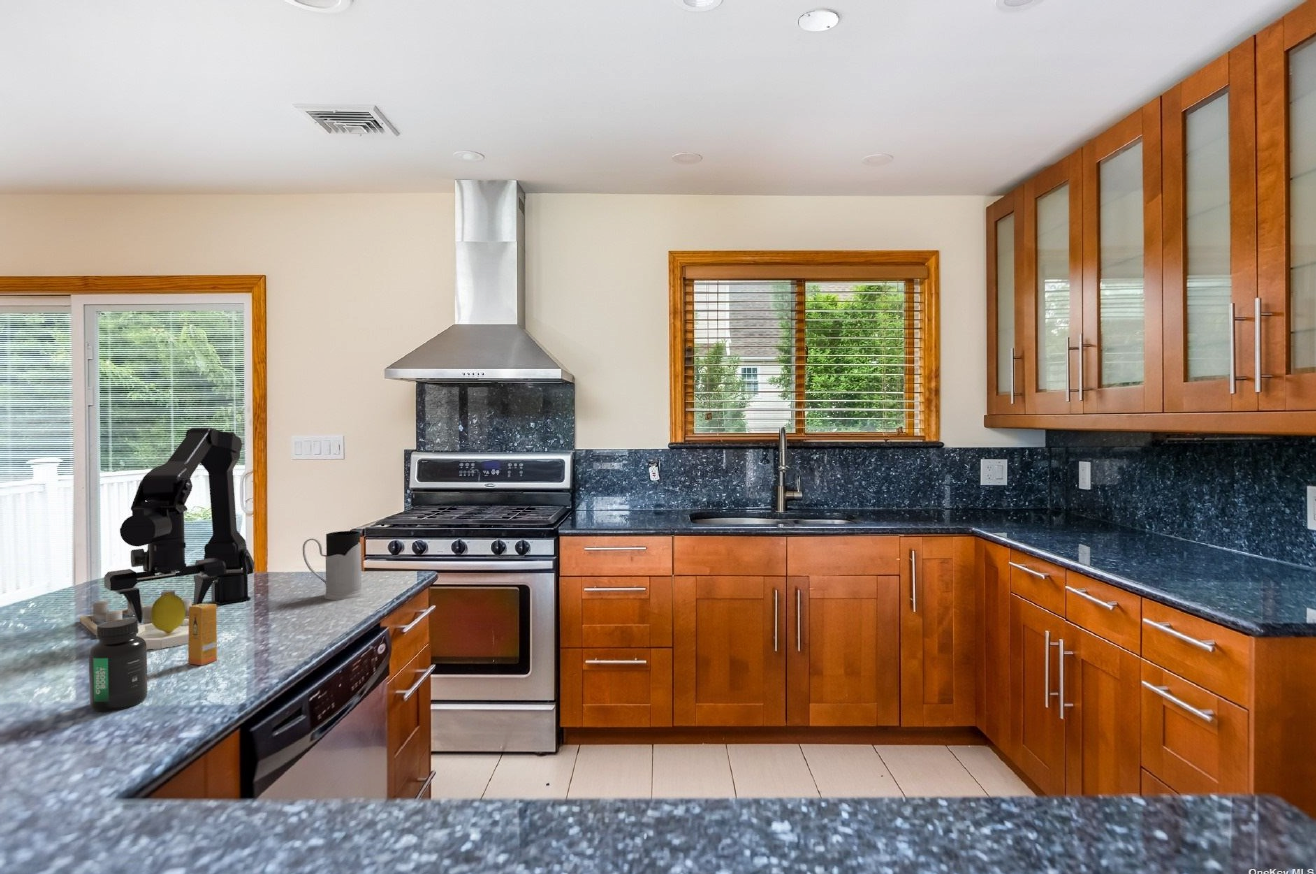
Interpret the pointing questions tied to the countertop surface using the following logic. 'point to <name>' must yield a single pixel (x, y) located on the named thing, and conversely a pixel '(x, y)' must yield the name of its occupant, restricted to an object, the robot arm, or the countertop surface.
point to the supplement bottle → (117, 667)
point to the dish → (164, 636)
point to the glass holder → (341, 564)
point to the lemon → (168, 612)
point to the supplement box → (202, 634)
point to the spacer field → (103, 613)
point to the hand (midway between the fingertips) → (168, 617)
